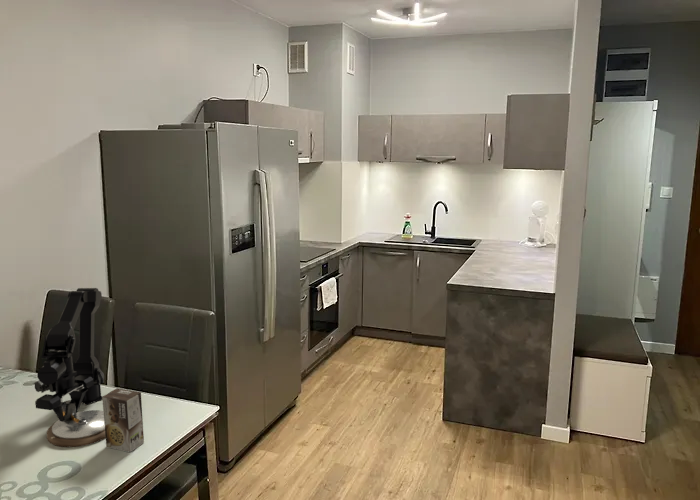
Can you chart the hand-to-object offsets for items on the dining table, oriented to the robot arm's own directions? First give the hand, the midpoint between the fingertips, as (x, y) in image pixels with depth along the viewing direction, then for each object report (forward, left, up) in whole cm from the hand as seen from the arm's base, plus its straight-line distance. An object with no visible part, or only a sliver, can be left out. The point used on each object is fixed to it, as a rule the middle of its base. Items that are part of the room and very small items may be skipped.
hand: (68, 416), depth 177 cm
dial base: (-1, +6, -3) cm, 7 cm away
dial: (-1, +6, -2) cm, 6 cm away
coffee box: (-4, +24, -4) cm, 24 cm away
